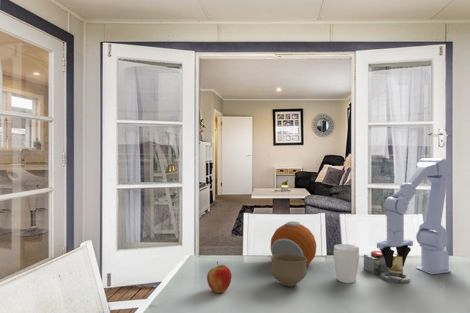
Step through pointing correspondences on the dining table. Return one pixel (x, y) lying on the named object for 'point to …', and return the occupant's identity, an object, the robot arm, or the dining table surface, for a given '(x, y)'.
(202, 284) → the dining table surface
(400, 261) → the knob
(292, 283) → the bowl
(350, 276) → the cup
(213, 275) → the apple
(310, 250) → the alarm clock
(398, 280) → the red button switch
